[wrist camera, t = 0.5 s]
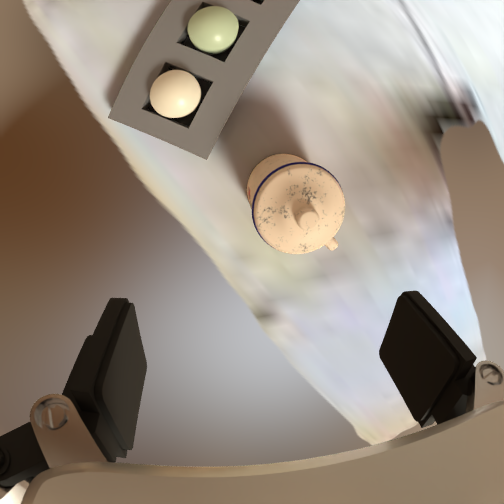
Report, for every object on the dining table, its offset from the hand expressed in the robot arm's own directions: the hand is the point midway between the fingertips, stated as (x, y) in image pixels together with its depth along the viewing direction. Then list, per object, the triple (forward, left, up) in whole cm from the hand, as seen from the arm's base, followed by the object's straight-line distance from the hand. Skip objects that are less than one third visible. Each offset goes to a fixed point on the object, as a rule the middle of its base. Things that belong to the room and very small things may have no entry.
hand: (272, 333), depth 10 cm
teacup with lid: (-1, +7, -28) cm, 29 cm away
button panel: (-14, -10, -27) cm, 32 cm away
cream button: (-6, -10, -26) cm, 28 cm away
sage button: (-14, -10, -26) cm, 31 cm away
